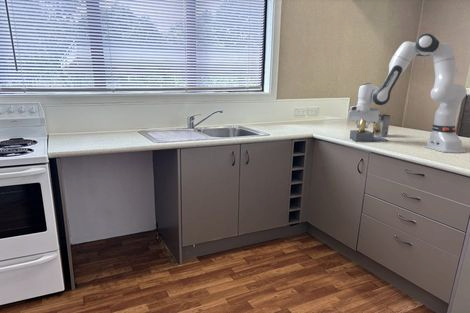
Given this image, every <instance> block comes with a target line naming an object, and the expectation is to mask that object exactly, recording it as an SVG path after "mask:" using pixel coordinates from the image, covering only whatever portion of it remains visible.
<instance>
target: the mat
mask: <svg viewBox="0 0 470 313" xmlns="http://www.w3.org/2000/svg"><path fill="white" fill-rule="evenodd" d="M373 142H388V139H386V138H385V137H378V136H374V141H373Z"/></svg>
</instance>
